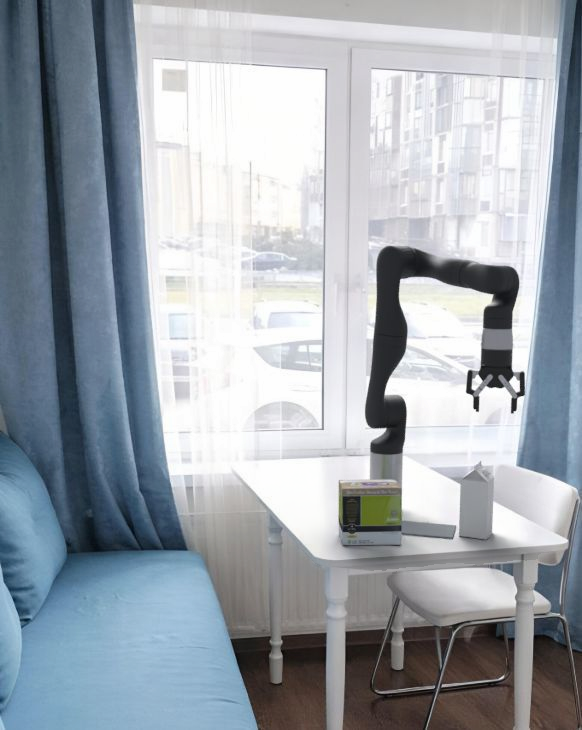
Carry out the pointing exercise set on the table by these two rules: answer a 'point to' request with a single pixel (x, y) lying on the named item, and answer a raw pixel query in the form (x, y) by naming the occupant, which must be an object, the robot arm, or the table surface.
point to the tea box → (370, 512)
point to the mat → (428, 529)
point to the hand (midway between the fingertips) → (494, 412)
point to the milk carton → (476, 503)
